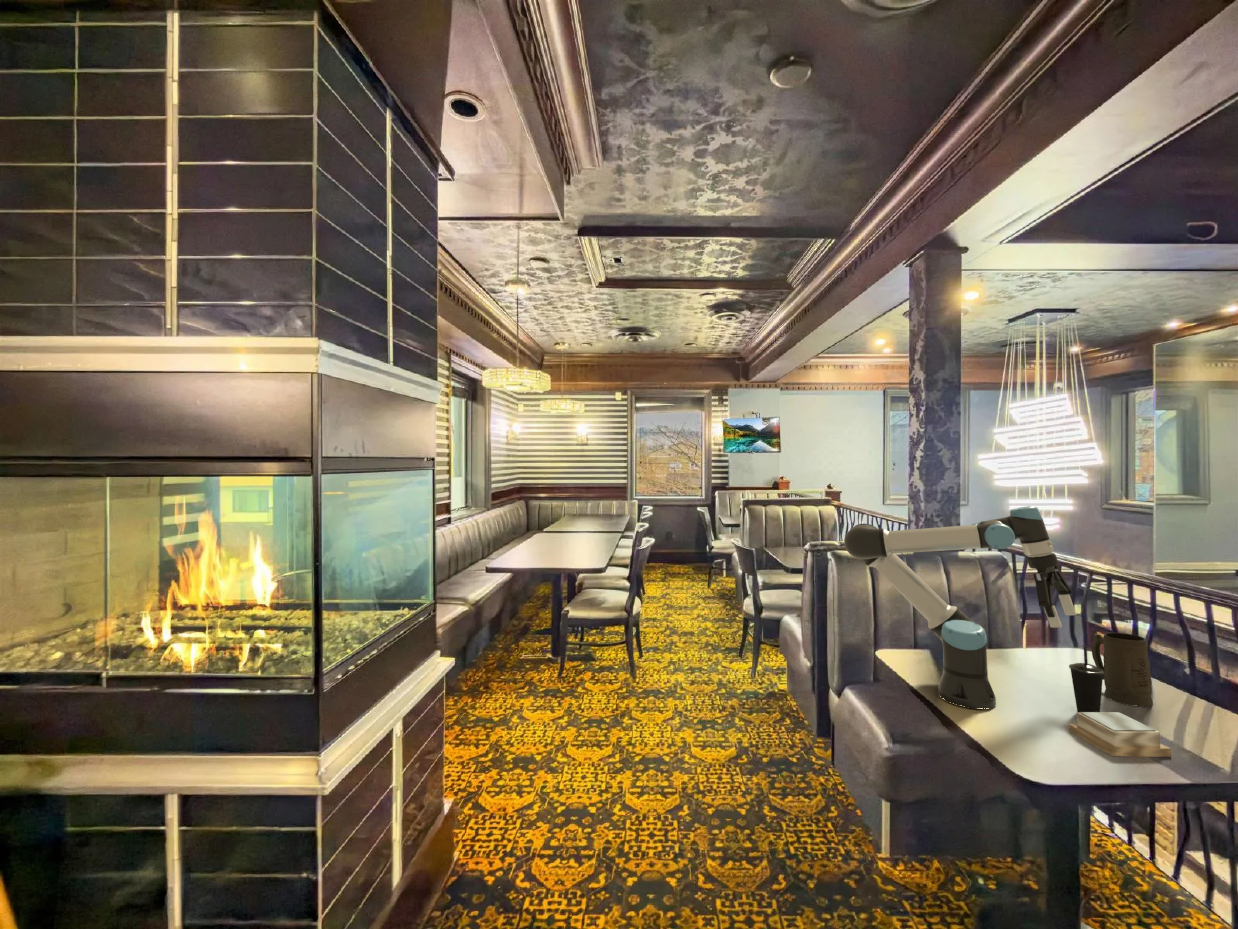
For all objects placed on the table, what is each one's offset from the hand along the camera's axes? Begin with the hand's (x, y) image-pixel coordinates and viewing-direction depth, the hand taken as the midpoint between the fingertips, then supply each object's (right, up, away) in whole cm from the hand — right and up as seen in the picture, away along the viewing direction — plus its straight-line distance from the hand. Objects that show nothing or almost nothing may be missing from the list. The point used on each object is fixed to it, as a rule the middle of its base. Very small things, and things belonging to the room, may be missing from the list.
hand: (1063, 621), depth 161 cm
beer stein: (+18, -24, +1) cm, 30 cm away
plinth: (-9, -24, -27) cm, 37 cm away
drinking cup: (-2, -24, -11) cm, 27 cm away
